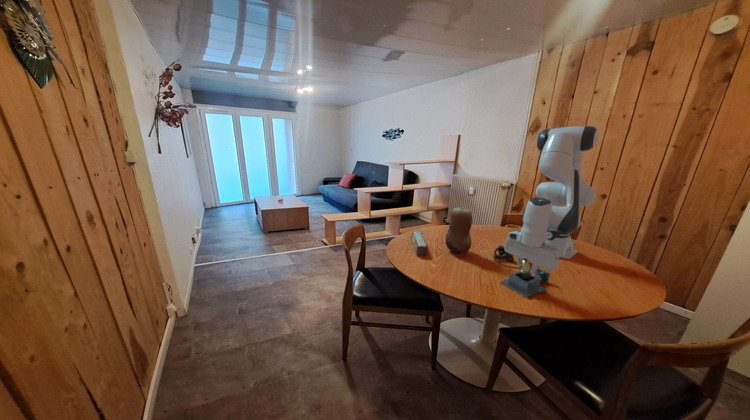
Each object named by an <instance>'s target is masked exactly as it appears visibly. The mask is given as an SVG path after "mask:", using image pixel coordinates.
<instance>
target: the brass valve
mask: <svg viewBox="0 0 750 420" xmlns="http://www.w3.org/2000/svg"><path fill="white" fill-rule="evenodd" d="M521 262H522V264H521V268H519V271H520V274H519V275H520V276H521V277H523V278H526V279H529V278H530V277H531V275H532V273H530V269H532V268H534V264H532V263H530V262H528V261H527V259H526V258H523V259H521Z"/></svg>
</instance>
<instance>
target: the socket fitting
mask: <svg viewBox="0 0 750 420" xmlns="http://www.w3.org/2000/svg"><path fill="white" fill-rule="evenodd" d="M519 274H520V270H518V271H515V272H512V273H510V274H509V277H508V278H506V279H502V280H501V281H500V284H501V285H503V286H504V287H506V288H509V289H510V290H512V291H513V292H516V293H517V294H519V295H521V296H522V297H524V298H526V299H531V298H533V297H536V296H538V295H540V294H543V293H546V292H547V288H545V287H544V286H542V285H540V284H541V283H542V282H543V283H544V284H549V280H550V275H551V273H549V271H548V272H547V271H545V270H543V269H541V268H539V269H537V270H536V274H531V277H530V278H529V279H526V278H523V277H521V276H520V275H519Z"/></svg>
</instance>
